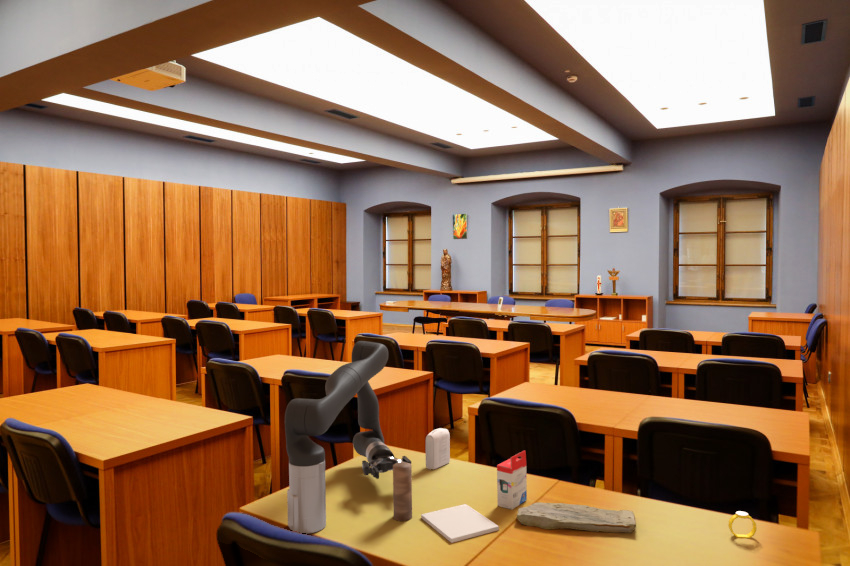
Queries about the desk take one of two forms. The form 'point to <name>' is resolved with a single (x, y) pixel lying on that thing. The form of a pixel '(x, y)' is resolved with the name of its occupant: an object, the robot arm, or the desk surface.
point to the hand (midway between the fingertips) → (392, 473)
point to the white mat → (459, 523)
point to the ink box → (512, 481)
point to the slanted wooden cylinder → (402, 491)
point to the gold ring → (742, 515)
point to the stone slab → (576, 517)
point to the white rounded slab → (437, 448)
